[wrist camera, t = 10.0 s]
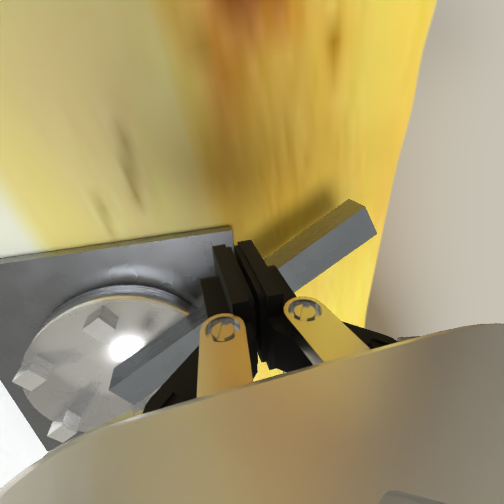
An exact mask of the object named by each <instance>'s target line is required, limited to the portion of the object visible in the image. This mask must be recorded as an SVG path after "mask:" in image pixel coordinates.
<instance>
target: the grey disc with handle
mask: <svg viewBox="0 0 504 504" xmlns="http://www.w3.org/2000/svg"><path fill="white" fill-rule="evenodd" d="M376 234H377V232H376V230H375V228H374V225H373V223H372V221H371V219H370V217H369V214H368V212H367V210H366V208H365V206H363V205H361V204H359V203H357V202H354V201H352V200H350V199H348V200H346V201H345V202H344V203H342V204H341V205H340V206H338V207H337V208H335V209H334V210H333V211H331V212H330V213H328V214H327V215H326V216H324V217H323V218H322V219H320V220H319V221H317V222H316V223H315V224H313V225H312V226H310V227H309V228H308V229H306V230H305V231H303V232H302V233H301V234H299V235H298V236H297V237H295V238H294V239H292V240H291V241H290V242H288V243H287V244H285V245H284V246H283V247H281V248H280V249H279V250H277V251H276V252H274V253H273V254H272V255H270V256H269V257H267V258H266V259H265V260H264V262H265V263H266V265H267V266H271V265H275V266H276V267H277V269H278V270H279V272H280V273H281V275H282V276H283V278H284V279H285V280H286V282H287V283H288V285H289V286H290V288H291V289H292V291H293V292H295V291H297V290H298V289H300V288H301V287H302V286H304V285H305V284H307V283H308V282H310V281H311V280H312V279H314V278H315V277H317V276H318V275H319V274H321V273H322V272H324V271H325V270H327V269H328V268H329V267H331V266H332V265H334V264H335V263H336V262H338V261H339V260H341V259H342V258H343V257H345V256H346V255H348V254H349V253H351V252H352V251H353V250H355V249H356V248H358V247H359V246H360V245H362V244H363V243H365V242H366V241H368V240H369V239H370V238H372V237H373V236H375V235H376ZM206 320H207V318H206V312H205V307H204V304H202V305H201V306H199V307H198V308H197V309H195V308H194V307H192V306H191V305H190V304H189V303H187V302H186V301H184V300H183V299H181V298H179V297H178V296H176V295H174V294H171V293H169V292H167V291H163V290H160V289H157V288H152V287H147V286H139V285H116V286H108V287H103V288H98V289H94V290H91V291H88V292H85V293H82V294H80V295H78V296H76V297H74V298H72V299H70V300H68V301H67V302H65V303H64V304H62V305H61V306H60V307H58V308H57V309H56V310H55V311H54V312H53V313H52V314H51V315H50V316H49V317H48V318H47V319H46V321H45V322H44V323H43V325H42V327H41V328H40V330H39V331H38V333H37V335H36V336H35V338H34V339H33V341H32V343H31V344H30V346H29V348H28V349H27V351H26V353H25V355H24V358H23V361H22V364H21V367H20V369H19V371H18V372H17V374H16V376H15V377H14V379H13V381H12V382H13V383H15V384H17V385H19V386H22V387H23V391H24V393H25V395H26V397H27V399H28V400H29V401H30V403H31V404H32V405H33V407H34V408H36V409H37V410H38V411H39V412H40V413H41V414H42V415H44V416H45V417H47V418H48V419H49V420H51V421H53V422H52V425H51V427H50V430H49V432H48V435H47V436H48V437H50V438H53V439H55V440H57V441H60V442H62V443H63V442H65V441H66V440H68V439H69V438H70V437H72V436H73V435H75V434H76V433H77V431H80V432H88V431H90V430H92V429H94V428H96V427H98V426H100V425H102V424H104V423H106V422H108V421H110V420H112V419H114V418H117V417H119V416H121V415H123V414H125V413H127V412H129V411H131V410H133V413H136V412H138V411H140V410H142V409H144V407H145V405H146V404H147V402H148V401H149V400H150V398H151V397H152V396H153V395H154V394H155V393H156V391H157V390H158V389H159V388H160V387H161V386H162V385H163V384H164V383H165V382H166V381H167V379H168V378H169V377H170V376H171V375H172V374H173V373H174V372H175V371H176V370H177V369H178V367H179V366H180V365H181V364H182V363H183V362H184V361H185V360H186V359H187V358H188V356H189V355H190V354H191V353H192V352H193V351H194V350H195V349H196V348H197V347H198V346H199V341H200V330H201V326H202V325H203V323H204V322H205V321H206Z"/></svg>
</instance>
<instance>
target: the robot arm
mask: <svg viewBox="0 0 504 504" xmlns="http://www.w3.org/2000/svg"><path fill="white" fill-rule="evenodd" d="M212 252H213V259H214V267H215V275H216V276H213V277H207V278H202V279H200V284H201V290H202V296H203V302H204V307H205V312H206V318H207V320H206V321H205V322H204V323H203V325H202V326H201V330H200V341H199V346H198V347H197V348H196V349H195V350H194V351H193V352H192V353H191V354H190V355H189V356H188V358H187V359H186V360H185V361H184V362H183V363H182V364H181V365H180V366H179V367H178V369H177V370H176V371H175V372H174V373H173V374H172V375H171V376H170V377H169V378H168V379H167V381H166V382H165V383H164V384H163V385H162V386H161V387H160V388H159V389H158V390H157V391H156V393H155V394H154V395H153V396H152V397H151V398H150V400H149V401H148V402H147V404H146V405H145V407H144V409H142V410H140V411H138V412H136V413H133V410H131V411H129V412H127V413H125V414H123V415H121V416H119V417H117V418H114V419H112V420H110V421H108V422H106V423H104V424H102V425H100V426H98V427H96V428H94V429H92V430H90V431H88V432H85V433H83V434H81V435H79V436H77V437H75V438H73V439H71V440H69V441H67V442H65V443H63V444H61V445H59V446H57V447H56V448H54V449H52V450H51V451H49V452H48V453H47V454H46V455H45V456H44V457H43V458H41V459H40V460H38V461H37V462H35V463H33V464H32V465H30V466H29V467H28V468H26V469H25V470H23V471H22V472H21V473H19V474H18V475H17V476H15V477H14V478H13V479H12V480H10V481H9V482H8V483H7V484H5V485H4V486H3V487H2V488H1V489H0V504H504V324H498V323H496V324H477V325H470V326H463V327H458V328H454V329H449V330H445V331H440V332H436V333H432V334H428V335H424V336H415V337H398V339H397V341H396V340H394V339H393V338H391V337H389V336H386V335H383V334H380V333H377V332H374V331H371V330H367V329H364V328H361V327H358V326H355V325H351V324H348V323H345V322H342V321H340V320H339V319H338V318H337V317H336V316H335V315H334V314H333V313H332V312H331V311H330V310H329V309H328V308H327V307H326V306H325V305H324V304H322V303H321V302H320V301H318V300H316V299H314V298H311V297H296V295H295V294H294V292H293V291H292V289H291V288H290V286H289V285H288V283H287V282H286V280H285V279H284V278H283V276H282V275H281V273H280V272H279V270H278V269H277V267H276V266H275V265H271V266H267V265H266V263H265V262H264V260H263V258H262V257H261V255H260V254H259V252H258V250H257V249H256V247H255V246H254V244H253V242H252V241H251V240H247V241H241V242H238V245H237V246H234V253H233V251H232V249H231V247H226V245H225V244H223V245H217V246H212ZM257 352H258V353H257ZM258 355H259V357H260V360H261V362H267V365H268V368H269V370H272V369H275V368H277V369H280V370H282V371H283V374H280V375H276V376H273V377H269V378H265V379H262V380H258V381H255V382H253V378H254V377H255V375H256V374H257V372H258V371H257V364H258Z"/></svg>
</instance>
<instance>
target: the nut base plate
mask: <svg viewBox="0 0 504 504" xmlns="http://www.w3.org/2000/svg"><path fill="white" fill-rule="evenodd" d="M223 244H225V245H226V247H231V249H232V251H233V253H234V244H233V234H232V229H231V227H230V226H226V227H219V228H212V229H205V230H198V231H191V232H184V233H177V234H169V235H162V236H155V237H148V238H141V239H134V240H127V241H120V242H113V243H106V244H99V245H92V246H85V247H78V248H71V249H64V250H57V251H50V252H43V253H36V254H29V255H22V256H15V257H8V258H1V259H0V380H1V382H2V383H3V385H4V386H5V388H6V389H7V391H8V392H9V394H10V395H11V397H12V398H13V400H14V401H15V403H16V404H17V406H18V407H19V409H20V410H21V412H22V413H23V415H24V416H25V418H26V420H27V421H28V423H29V424H30V426H31V427H32V429H33V430H34V432H35V433H36V435H37V436H38V438H39V439H40V441H41V442H42V444H43V445H44V447H45V448H46V450H47V451H50V450H52V449H54V448H56V447H57V446H59V445H61V444H63V443H65V442H67V441H69V440H71V439H73V438H75V437H77V436H79V435H81V434H83V433H85V432H80V431H77V433H76V434H75V435H73V436H72V437H70V438H69V439H68V440H66V441H65V442H63V443H62V442H60V441H57V440H55V439H53V438H50V437H48V436H47V435H48V432H49V430H50V427H51V425H52V422H53V421H51V420H49V419H48V418H47V417H45V416H44V415H42V414H41V413H40V412H39V411H38V410H37V409H36V408H34V407H33V405H32V404H31V403H30V401H29V400H28V399H27V397H26V395H25V393H24V391H23V387H22V386H19V385H17V384H15V383H13V382H12V381H13V379H14V377H15V376H16V374H17V372H18V371H19V369H20V367H21V364H22V361H23V358H24V355H25V353H26V351H27V349H28V348H29V346H30V344H31V343H32V341H33V339H34V338H35V336H36V335H37V333H38V331H39V330H40V328H41V327H42V325H43V323H44V322H45V321H46V319H47V318H48V317H49V316H50V315H51V314H52V313H53V312H54V311H55V310H56V309H57V308H58V307H60V306H61V305H62V304H64V303H65V302H67V301H68V300H70V299H72V298H74V297H76V296H78V295H80V294H82V293H85V292H88V291H91V290H94V289H98V288H103V287H108V286H116V285H139V286H147V287H152V288H157V289H160V290H163V291H167V292H169V293H171V294H174V295H176V296H178V297H179V298H181V299H183V300H184V301H186V302H187V303H189V304H190V305H191V306H192V307H194V308H195V309H197V308H198V307H199V306H201V305H202V304H204V302H203V296H202V290H201V284H200V279H202V278H207V277H213V276H216V275H215V267H214V259H213V252H212V246H217V245H223Z"/></svg>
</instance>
